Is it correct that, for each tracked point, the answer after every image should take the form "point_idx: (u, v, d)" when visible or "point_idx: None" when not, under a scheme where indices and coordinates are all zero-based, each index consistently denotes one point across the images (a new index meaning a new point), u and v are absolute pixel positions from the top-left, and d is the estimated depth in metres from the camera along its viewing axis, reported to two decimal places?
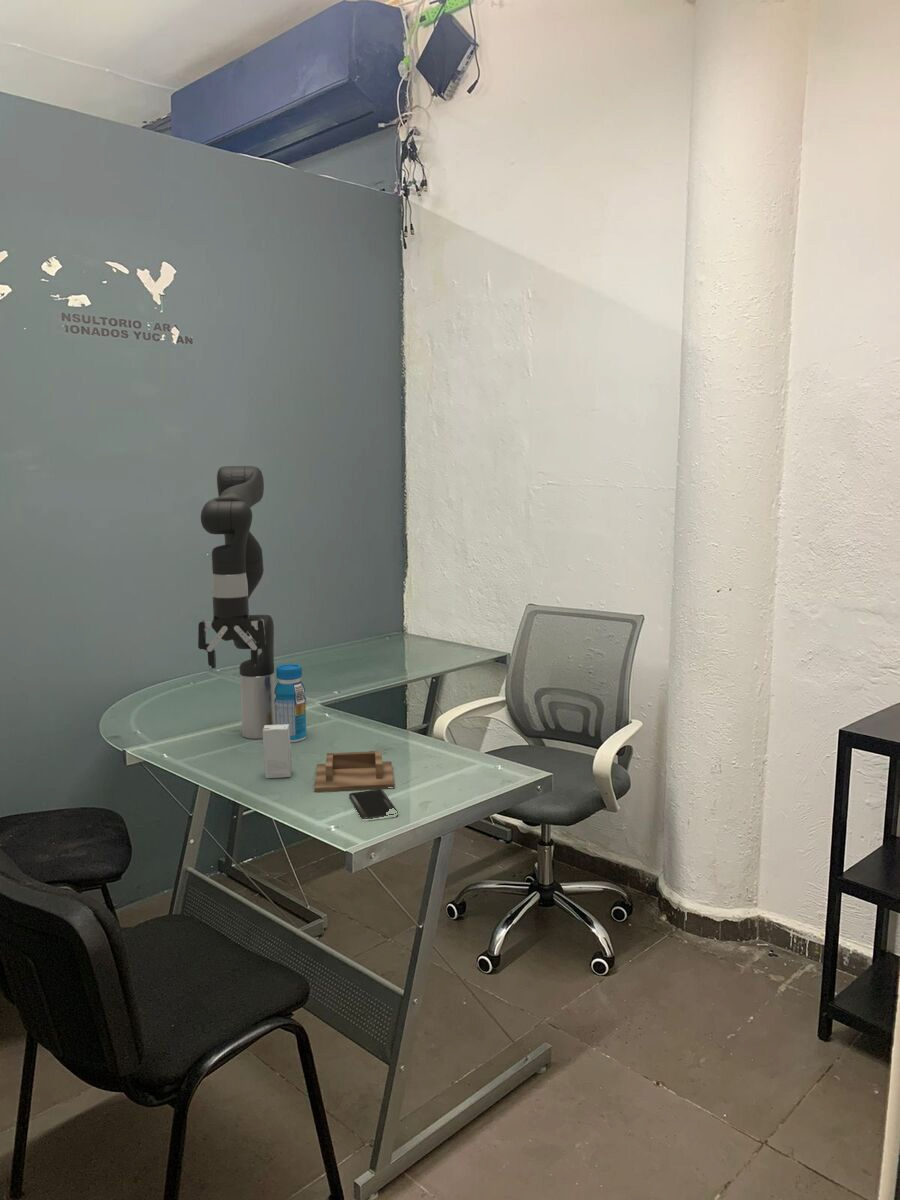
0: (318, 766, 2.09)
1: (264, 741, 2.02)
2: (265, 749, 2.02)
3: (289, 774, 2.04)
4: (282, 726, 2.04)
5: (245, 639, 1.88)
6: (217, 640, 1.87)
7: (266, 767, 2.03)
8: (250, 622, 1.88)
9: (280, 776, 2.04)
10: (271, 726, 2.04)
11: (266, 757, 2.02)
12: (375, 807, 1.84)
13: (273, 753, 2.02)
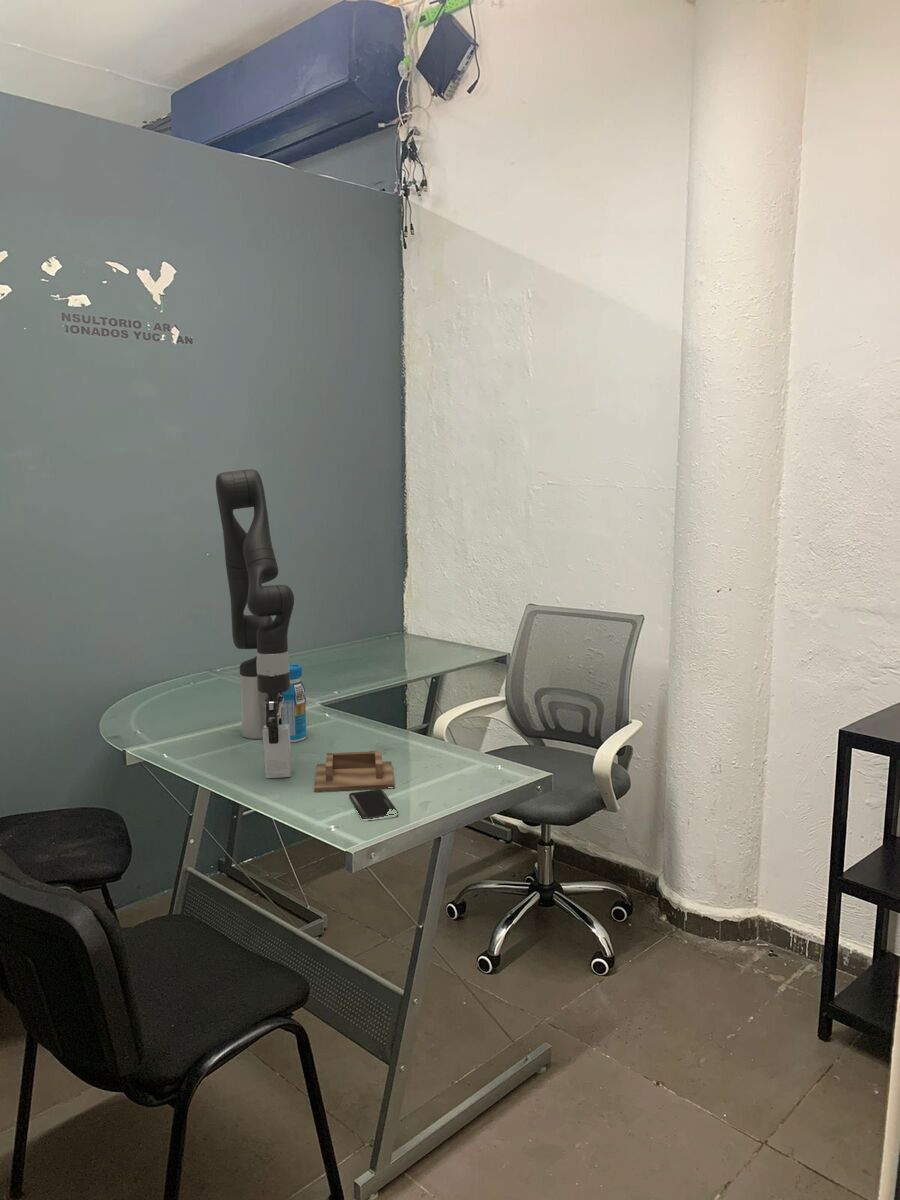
0: (318, 766, 2.09)
1: (264, 741, 2.02)
2: (265, 749, 2.02)
3: (289, 774, 2.04)
4: (282, 726, 2.04)
5: None
6: (280, 714, 2.00)
7: (266, 767, 2.03)
8: None
9: (280, 776, 2.04)
10: None
11: (266, 757, 2.02)
12: (375, 807, 1.84)
13: (273, 753, 2.02)
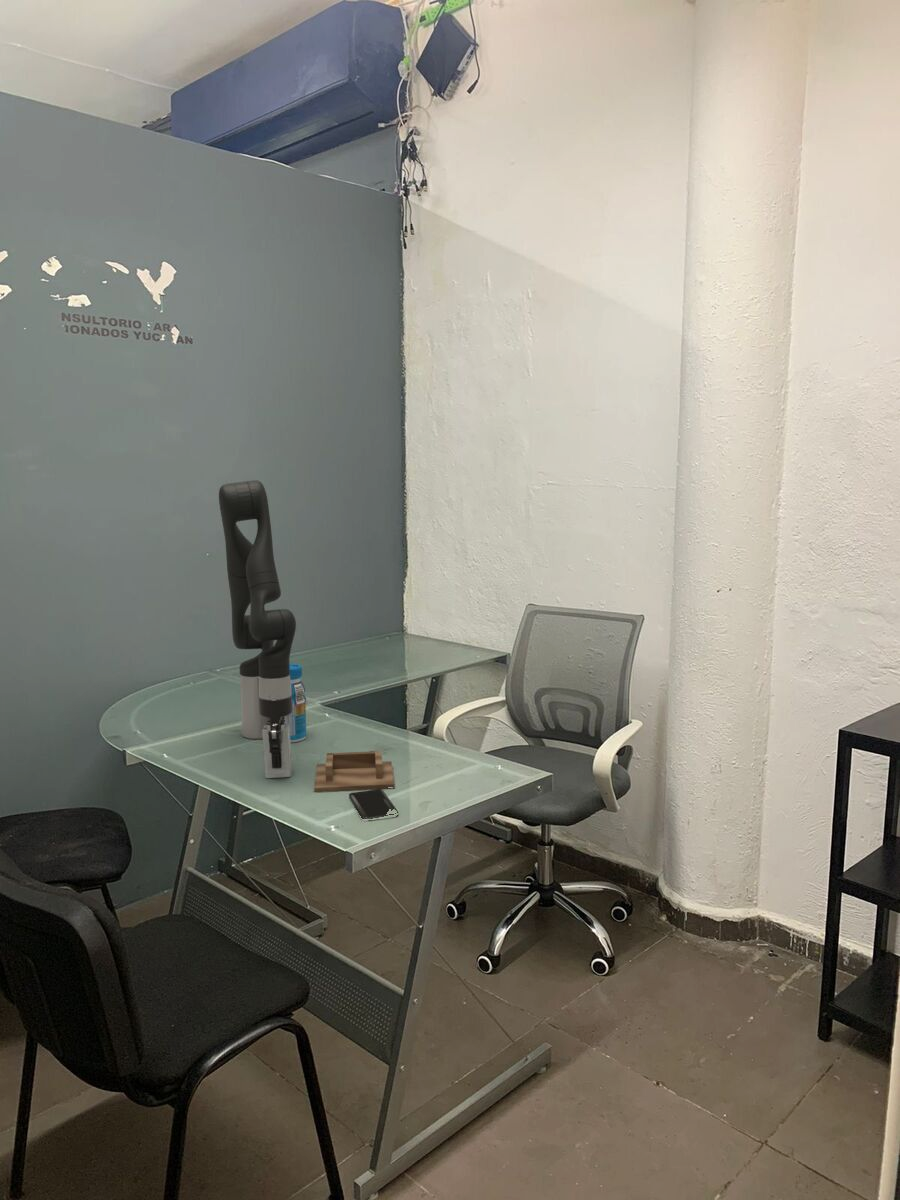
0: (318, 766, 2.09)
1: (264, 741, 2.02)
2: (265, 749, 2.02)
3: (289, 774, 2.04)
4: None
5: None
6: None
7: (266, 767, 2.03)
8: None
9: (280, 776, 2.04)
10: None
11: (266, 757, 2.03)
12: (375, 807, 1.84)
13: None
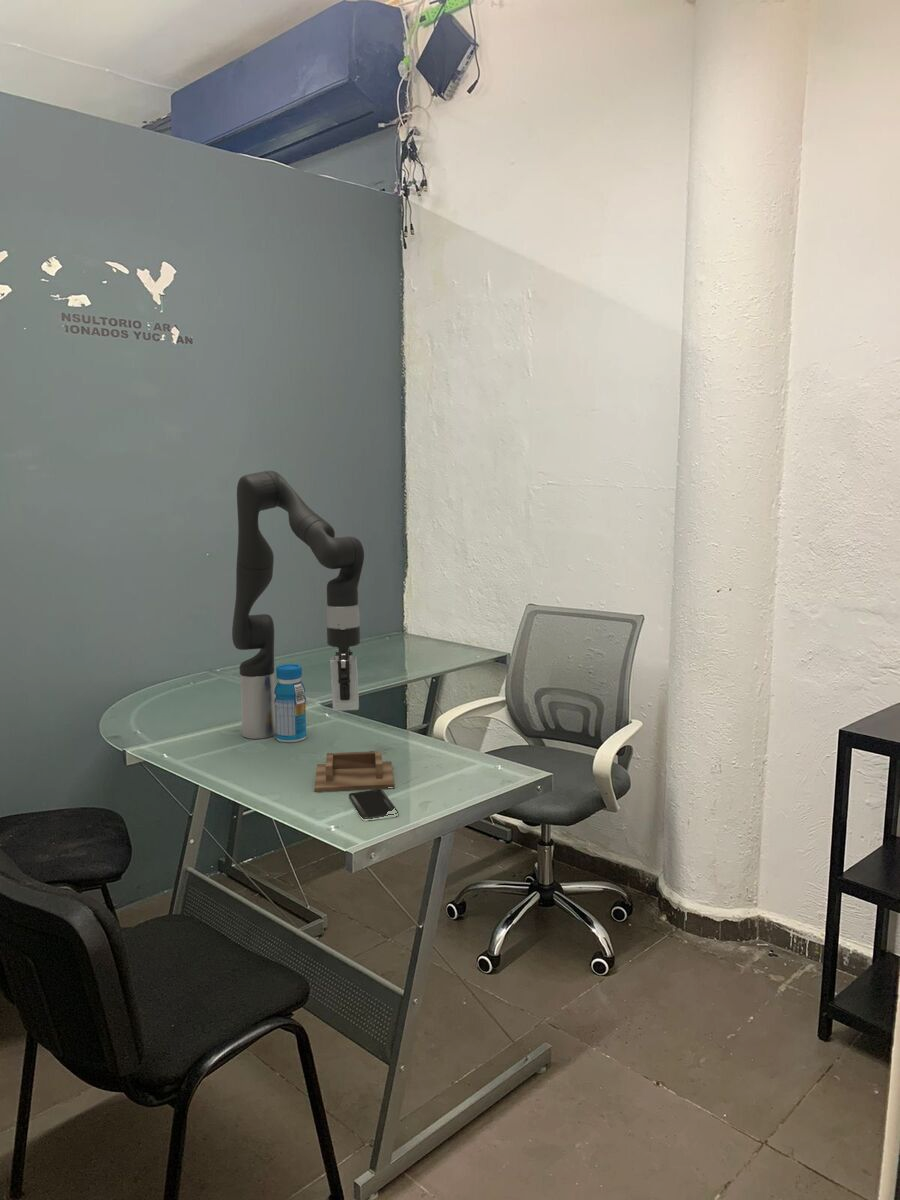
0: (318, 766, 2.09)
1: (332, 672, 1.97)
2: (333, 680, 1.97)
3: (357, 707, 1.99)
4: None
5: None
6: (351, 669, 1.97)
7: (333, 699, 1.98)
8: None
9: (348, 708, 1.99)
10: None
11: (334, 689, 1.98)
12: (375, 807, 1.84)
13: None
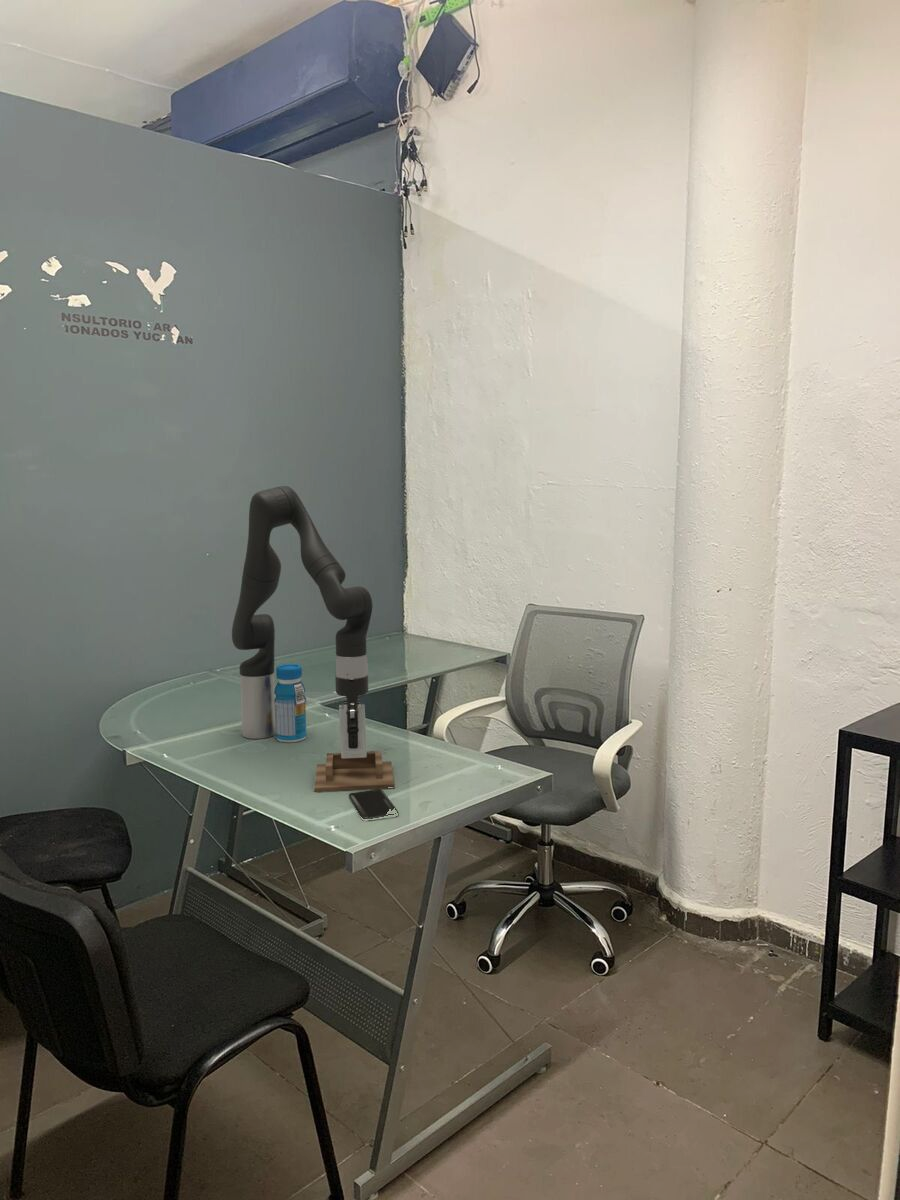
0: (318, 766, 2.09)
1: (340, 721, 1.99)
2: (341, 729, 1.99)
3: (365, 754, 2.01)
4: None
5: None
6: None
7: (342, 747, 2.00)
8: None
9: (356, 756, 2.01)
10: None
11: (342, 737, 2.00)
12: (375, 807, 1.84)
13: None
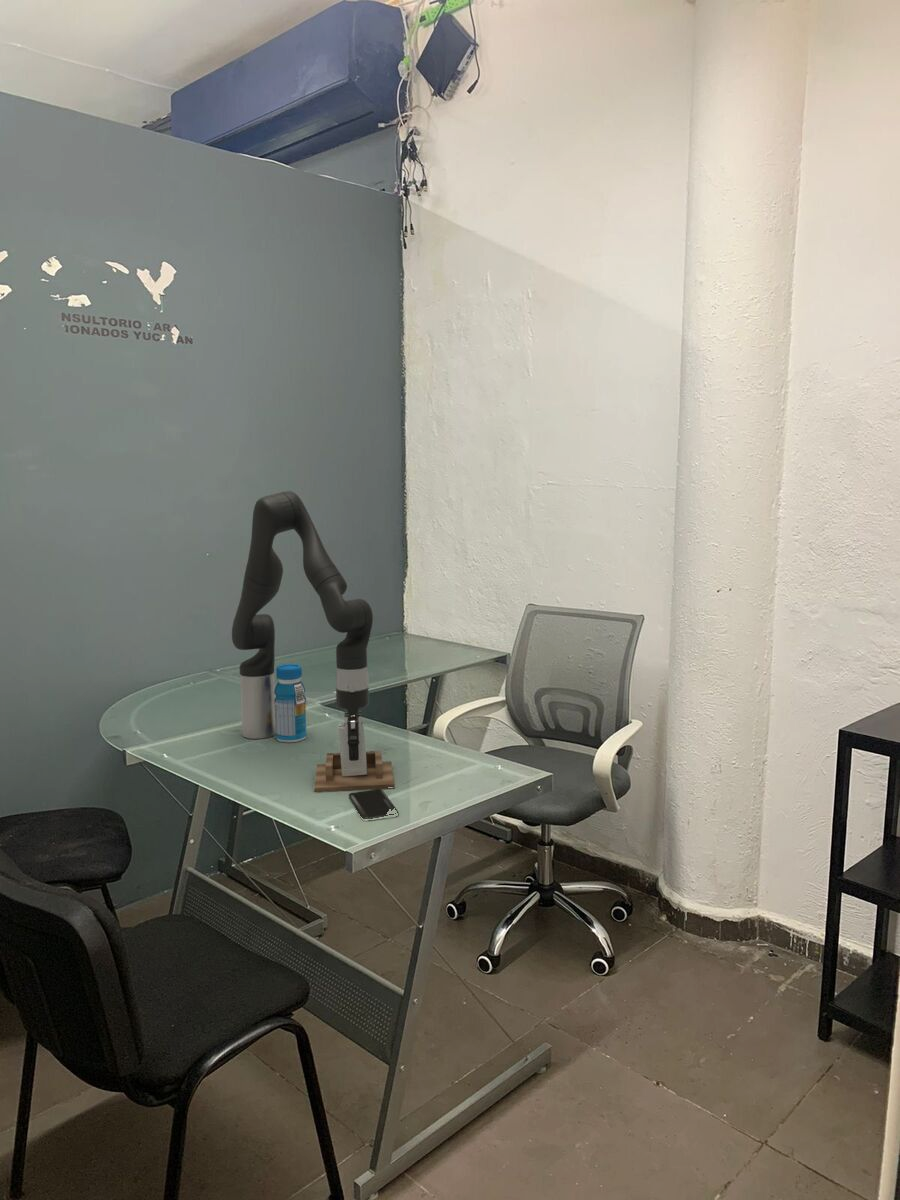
0: (318, 766, 2.09)
1: (340, 739, 2.00)
2: (341, 747, 2.00)
3: (365, 772, 2.02)
4: None
5: None
6: (360, 730, 2.00)
7: (342, 765, 2.01)
8: None
9: (357, 774, 2.01)
10: None
11: (343, 755, 2.00)
12: (375, 807, 1.84)
13: None
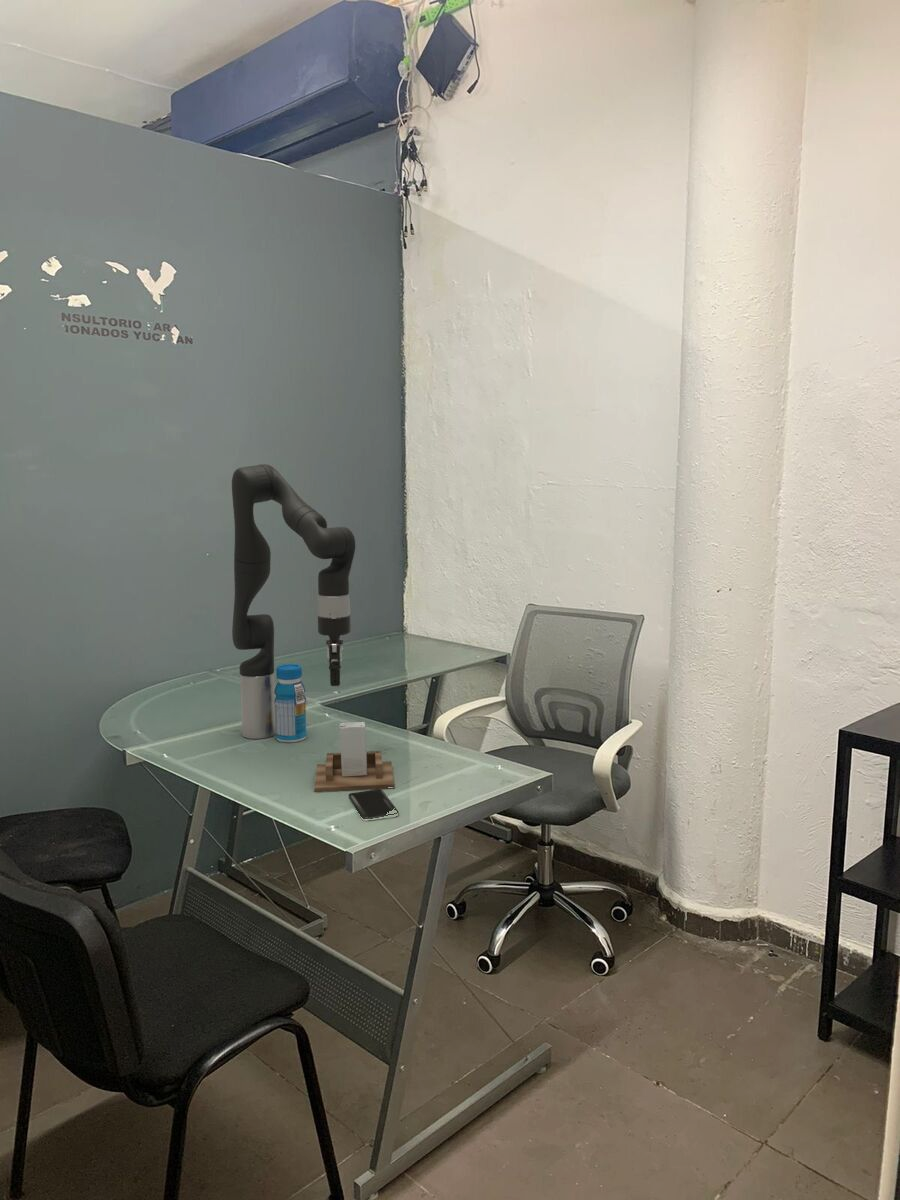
0: (318, 766, 2.09)
1: (341, 739, 2.00)
2: (342, 747, 2.00)
3: (366, 772, 2.02)
4: (358, 724, 2.01)
5: None
6: None
7: (343, 765, 2.01)
8: None
9: (357, 774, 2.01)
10: (347, 724, 2.02)
11: (343, 755, 2.00)
12: (375, 807, 1.84)
13: (350, 751, 2.00)
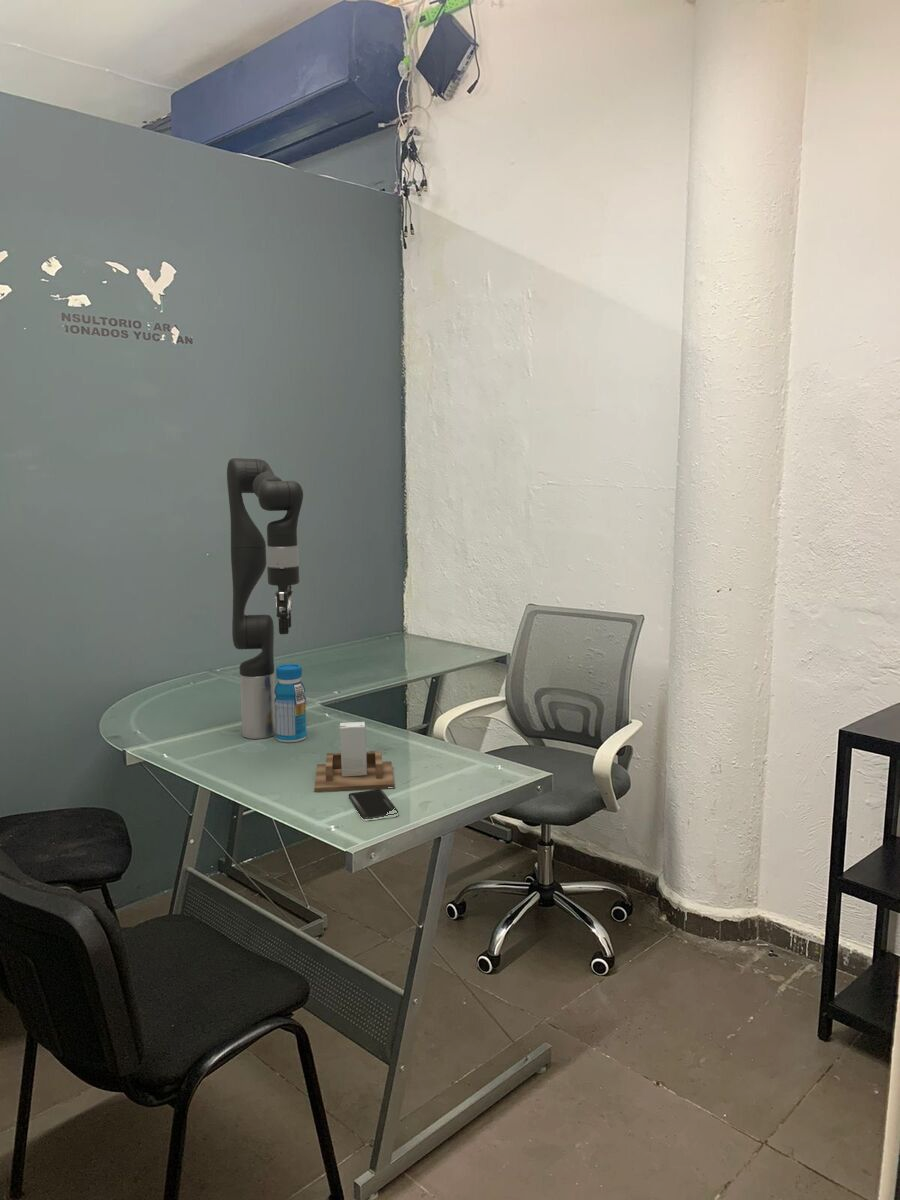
0: (318, 766, 2.09)
1: (341, 739, 2.00)
2: (342, 747, 2.00)
3: (366, 772, 2.02)
4: (358, 724, 2.01)
5: (292, 602, 2.13)
6: (290, 606, 2.07)
7: (343, 765, 2.01)
8: None
9: (357, 774, 2.01)
10: (347, 724, 2.02)
11: (343, 755, 2.00)
12: (375, 807, 1.84)
13: (350, 751, 2.00)
